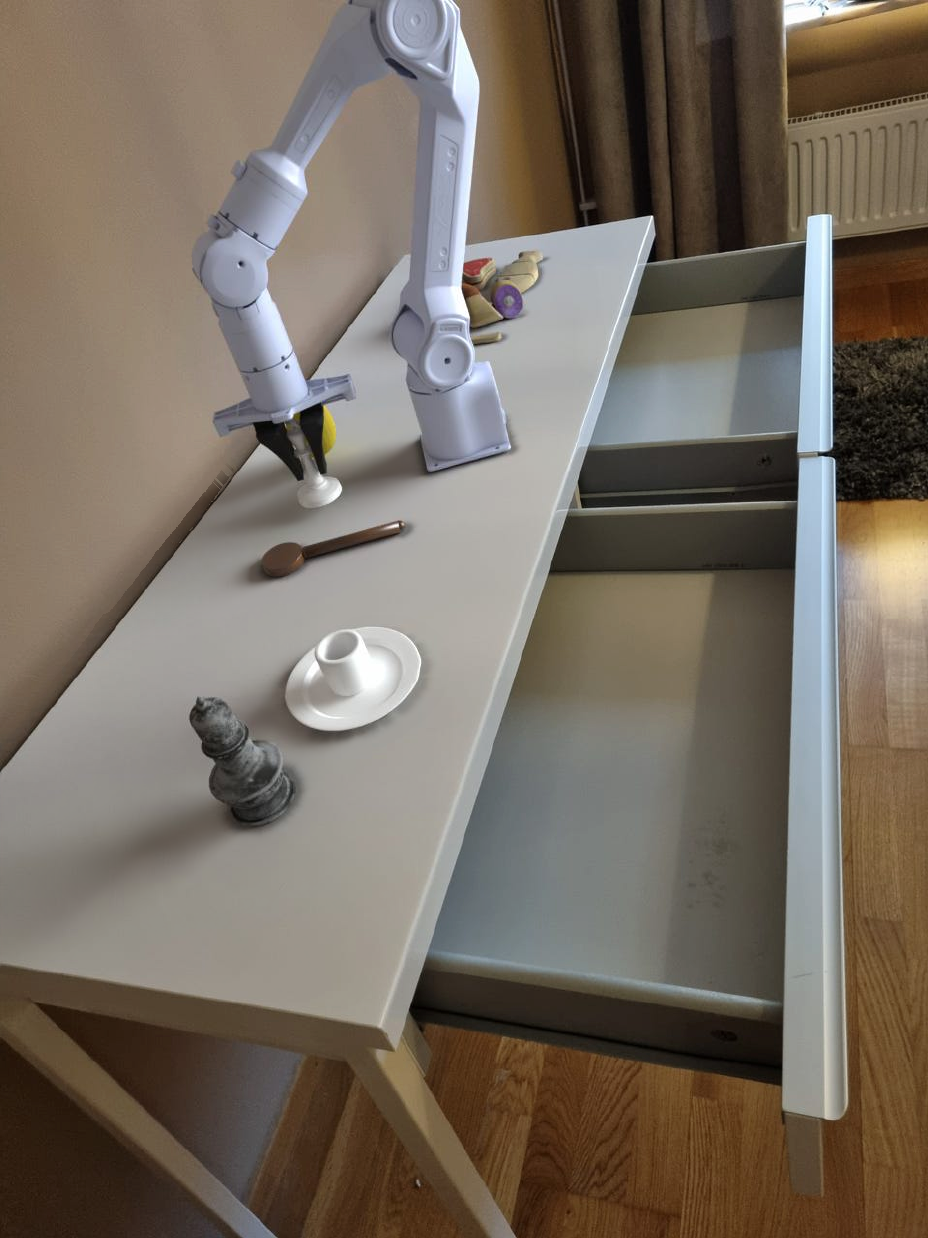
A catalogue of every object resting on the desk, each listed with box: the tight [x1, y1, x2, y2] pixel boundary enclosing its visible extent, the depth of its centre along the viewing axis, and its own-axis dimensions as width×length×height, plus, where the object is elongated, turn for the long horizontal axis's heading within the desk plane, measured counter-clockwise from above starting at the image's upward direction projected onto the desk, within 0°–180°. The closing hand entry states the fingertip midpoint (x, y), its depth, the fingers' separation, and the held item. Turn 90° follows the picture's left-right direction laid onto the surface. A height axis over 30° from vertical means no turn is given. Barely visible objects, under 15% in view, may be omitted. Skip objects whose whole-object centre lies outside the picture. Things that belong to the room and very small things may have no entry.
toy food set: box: [461, 250, 544, 345], centre depth 127 cm, size 26×16×4 cm, turn 168°
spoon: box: [261, 519, 406, 578], centre depth 91 cm, size 15×4×1 cm, turn 98°
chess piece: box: [284, 418, 343, 509], centre depth 94 cm, size 5×5×10 cm
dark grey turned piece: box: [188, 696, 296, 828], centre depth 65 cm, size 6×6×12 cm
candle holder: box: [284, 626, 422, 732], centre depth 75 cm, size 12×12×4 cm
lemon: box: [285, 405, 337, 458], centre depth 103 cm, size 6×6×8 cm
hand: (311, 472), depth 95 cm, fingers closed on chess piece
